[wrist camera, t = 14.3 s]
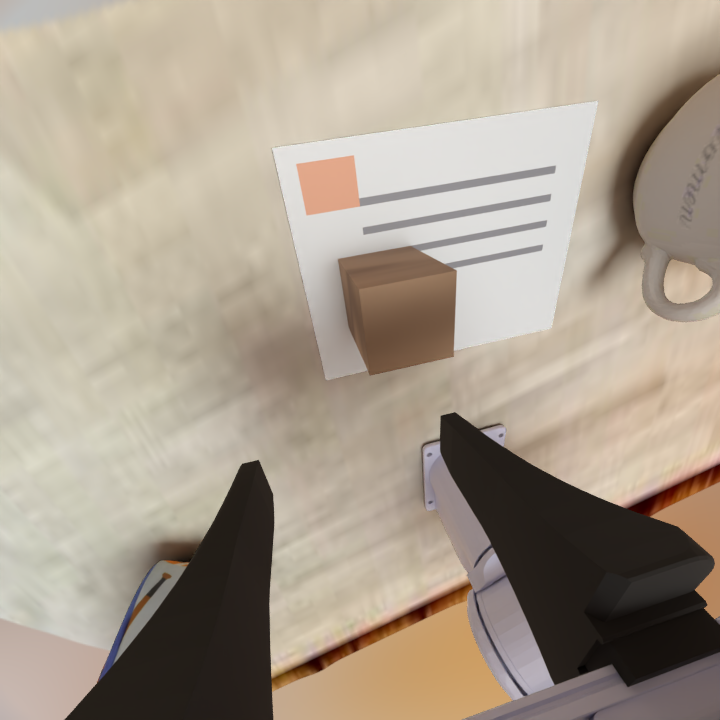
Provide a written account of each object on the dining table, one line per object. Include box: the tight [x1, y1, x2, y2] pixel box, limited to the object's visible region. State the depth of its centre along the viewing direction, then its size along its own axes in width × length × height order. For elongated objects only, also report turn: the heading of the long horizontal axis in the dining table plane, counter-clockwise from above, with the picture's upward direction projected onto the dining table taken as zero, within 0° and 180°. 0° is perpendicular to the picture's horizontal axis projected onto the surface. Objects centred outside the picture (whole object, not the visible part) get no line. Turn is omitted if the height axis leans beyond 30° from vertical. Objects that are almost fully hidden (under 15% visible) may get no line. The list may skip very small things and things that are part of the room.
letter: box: [272, 101, 598, 381], centre depth 20 cm, size 14×18×1 cm
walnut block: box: [338, 246, 457, 375], centre depth 17 cm, size 4×4×6 cm
